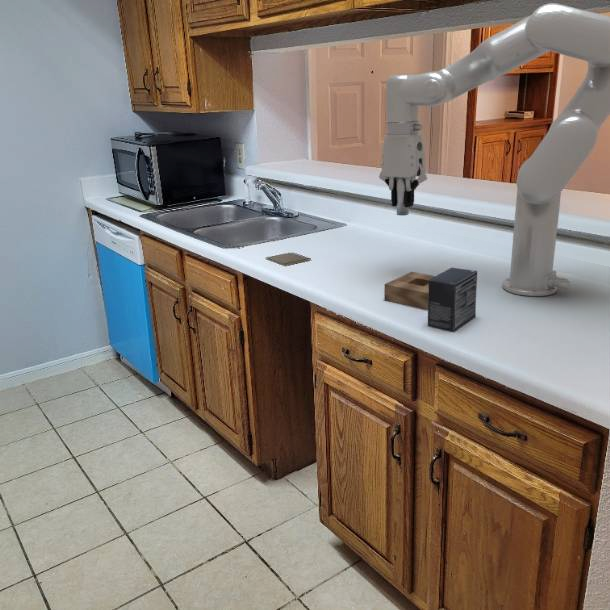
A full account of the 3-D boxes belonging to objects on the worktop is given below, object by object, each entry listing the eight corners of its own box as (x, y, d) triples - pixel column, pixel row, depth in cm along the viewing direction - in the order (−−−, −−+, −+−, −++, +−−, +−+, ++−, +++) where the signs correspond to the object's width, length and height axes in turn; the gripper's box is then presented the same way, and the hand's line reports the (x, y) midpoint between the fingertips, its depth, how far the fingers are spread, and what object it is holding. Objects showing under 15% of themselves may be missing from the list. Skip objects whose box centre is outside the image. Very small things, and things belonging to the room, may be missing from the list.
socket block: (455, 295, 143) (455, 279, 142) (429, 310, 135) (430, 293, 134) (411, 287, 151) (411, 271, 150) (384, 300, 142) (384, 284, 141)
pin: (411, 213, 152) (411, 173, 148) (404, 215, 149) (404, 175, 146) (400, 212, 153) (400, 172, 150) (394, 214, 151) (393, 174, 148)
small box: (448, 311, 134) (450, 266, 131) (476, 317, 130) (479, 270, 127) (425, 326, 127) (427, 278, 123) (454, 332, 123) (456, 283, 119)
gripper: (440, 128, 142) (439, 205, 148) (382, 128, 152) (383, 201, 159) (424, 130, 137) (423, 211, 143) (365, 131, 147) (367, 206, 153)
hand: (402, 205), depth 151 cm, fingers closed on pin, 3 cm apart
